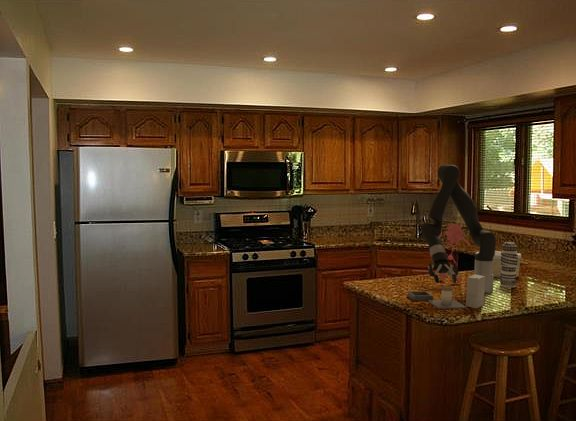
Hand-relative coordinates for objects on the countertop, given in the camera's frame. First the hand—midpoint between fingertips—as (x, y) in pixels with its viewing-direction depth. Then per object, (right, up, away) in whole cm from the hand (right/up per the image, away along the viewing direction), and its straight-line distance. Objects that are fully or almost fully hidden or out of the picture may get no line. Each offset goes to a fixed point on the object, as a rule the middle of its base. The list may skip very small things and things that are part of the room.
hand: (446, 282), depth 265 cm
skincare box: (+13, -11, -3) cm, 17 cm away
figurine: (+19, -7, +52) cm, 56 cm away
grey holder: (-10, -10, +11) cm, 18 cm away
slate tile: (0, -11, -1) cm, 11 cm away
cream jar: (0, -10, -1) cm, 10 cm away
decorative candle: (+48, -8, +44) cm, 65 cm away
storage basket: (+54, -6, +73) cm, 91 cm away
